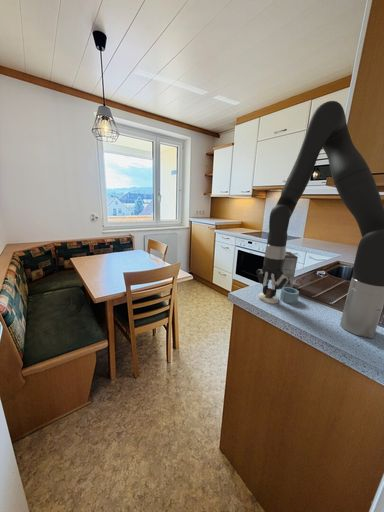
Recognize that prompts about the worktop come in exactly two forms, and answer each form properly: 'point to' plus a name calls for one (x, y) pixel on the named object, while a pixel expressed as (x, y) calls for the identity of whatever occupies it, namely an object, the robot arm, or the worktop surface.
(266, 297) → the lid
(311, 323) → the worktop surface
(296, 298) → the bowl
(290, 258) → the coffee box
